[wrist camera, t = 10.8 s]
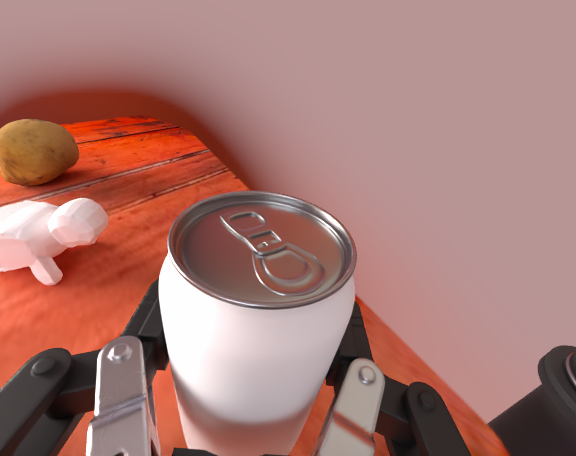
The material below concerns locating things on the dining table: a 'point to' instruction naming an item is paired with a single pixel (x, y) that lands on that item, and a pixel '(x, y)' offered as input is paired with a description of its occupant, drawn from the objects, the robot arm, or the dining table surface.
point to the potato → (35, 151)
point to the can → (253, 317)
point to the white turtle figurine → (46, 234)
